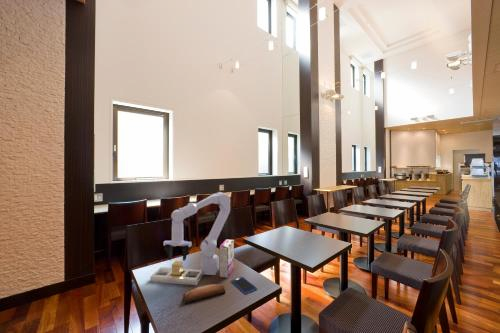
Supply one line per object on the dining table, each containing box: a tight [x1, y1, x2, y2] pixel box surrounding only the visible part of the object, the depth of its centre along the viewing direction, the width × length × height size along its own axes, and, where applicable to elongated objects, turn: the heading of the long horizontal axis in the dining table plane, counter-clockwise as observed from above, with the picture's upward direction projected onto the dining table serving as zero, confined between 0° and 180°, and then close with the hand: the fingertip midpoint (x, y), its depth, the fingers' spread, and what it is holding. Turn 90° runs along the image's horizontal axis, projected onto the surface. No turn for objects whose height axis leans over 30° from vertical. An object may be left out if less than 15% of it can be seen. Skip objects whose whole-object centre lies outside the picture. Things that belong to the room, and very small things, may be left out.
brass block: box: [171, 260, 184, 277], centre depth 110 cm, size 4×4×8 cm
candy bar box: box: [219, 239, 235, 279], centre depth 116 cm, size 11×5×16 cm, turn 168°
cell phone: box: [230, 276, 258, 295], centre depth 104 cm, size 7×14×1 cm, turn 35°
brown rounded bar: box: [182, 283, 226, 305], centre depth 96 cm, size 18×7×7 cm
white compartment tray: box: [149, 266, 204, 286], centre depth 110 cm, size 24×10×2 cm, turn 83°
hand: (177, 259), depth 111 cm, fingers open, 7 cm apart
